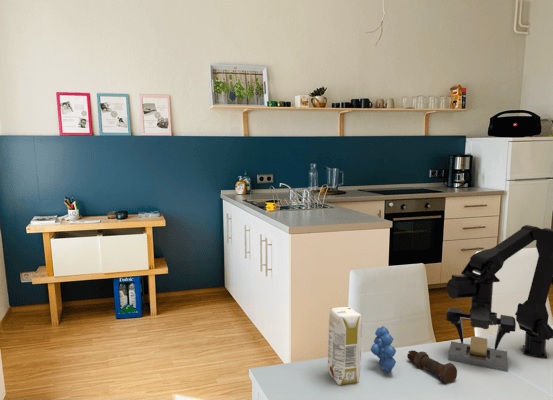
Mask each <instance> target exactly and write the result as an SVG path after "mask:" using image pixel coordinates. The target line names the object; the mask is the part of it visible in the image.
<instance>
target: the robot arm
mask: <svg viewBox="0 0 553 400" xmlns="http://www.w3.org/2000/svg"><path fill="white" fill-rule="evenodd" d="M534 241H535V246H536V247H535V248H536V250H537V251H536V252H537V254H538V257H537V261H536V266H535V269H534V274H533V277H532V281H531V285H530V287H529V288H530V289H529V293H528V297H527V300H525V301H524V302H523V303H521V302H519V303H518V304H517V308H516V311H515V313H514V315H515V317H514V316H513V315H512V316H511V315H506V314H504V315H503V314H500V317H498V313H497V312H493V311H492V306H493V305H492V304H493V290H494V289H493V288H494V283H499V282H501V280H500V279H499V278H498V277H497V276H496V274H497V273H498V272H499V271H500V270H501V269H502V268H503V266H504V264H505V262H506V261H507V260H508V259H509V258H511V257H513V256H514V255H516V254H517V253H518V252H520V251H521V250H522V249H524V248H526V247H527V246H528V245H530V244H532V243H533V242H534ZM460 274H461V275H460ZM460 274H451V278H450V279H449V280H448V281H447V284H446V292H447V295H448V297H450V298H451V299H453V300H454V299H467V298H470V308H469V313H467V312H462V308H457V307H451V306H450V307H448V309H447V311H446V319H445V320H446V322H450V324H451V325H454V326H455V328H456V331H457V333H458V337H459V339H460V340H459V341H460V343H462V344H463V343H464V326H463V320H466V321H470V327H472V328H475V329H476V328H479V329H483V330H488V329H490V326H497V325H498V326H497V332H496V335H495V336H496V338H495V340H494V349H495V350H496V349H497V350H498V347H499V345H500V343H501V341H502V339H503V337H504V336H505V335H506V334H511V332H514V333H515V332H516V326H517V325H516V324H518V328H519V330H522V331H523V332H525V334H524V344H522V354H523V355H527V356H534V357H538V358H544V359H548V353H547V350H546V347H547V341H549V340H551V339H553V328H552V326H551V325H550V324H549V318H550V317H549V312H548V309H547V306H546V305H547V301H548V297H549V292H550V289H551V285H552V281H553V229H552V228H549V227H543V228H541V227H538V226H533V225H530V224H526V225H525V224H524V225H523V226H522V227H520V229H519V230H517V231H516V232H515V233H513V234H512V235H509V236H508V237H507V238H505V239H504V240H503V241H501V242H500V243H498V244H497V245H495V246H494V247H491V248H489V249H483V250H480V251H478V252H476V253H474V254H473V255H471V256H470V257H469V261H468V263H467V264H466V265H465V267H464V268H463V270H462V271H461V272H460ZM516 322H517V323H516Z"/></svg>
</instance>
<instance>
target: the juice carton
mask: <svg viewBox="0 0 553 400" xmlns="http://www.w3.org/2000/svg"><path fill="white" fill-rule="evenodd" d="M328 317H329V318H328V319H329V320H328V344H327V345H328V347H327V369H328V374H329V376H331V378H333V380H334V381H335V382H336V384H337V385H338V386H342V385H343V386H344V385H350V384H357V383H359V382H360V376H361V369H362V367H361V366H362V365H361V362H362V337H363V335H362V334H363V333H362V331H363V320H362V319H363V318H362V314H360V313H359V312H357V311H355V310H354V308H353V307H351V306H339V307H332V308H330V309H329V316H328Z"/></svg>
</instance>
